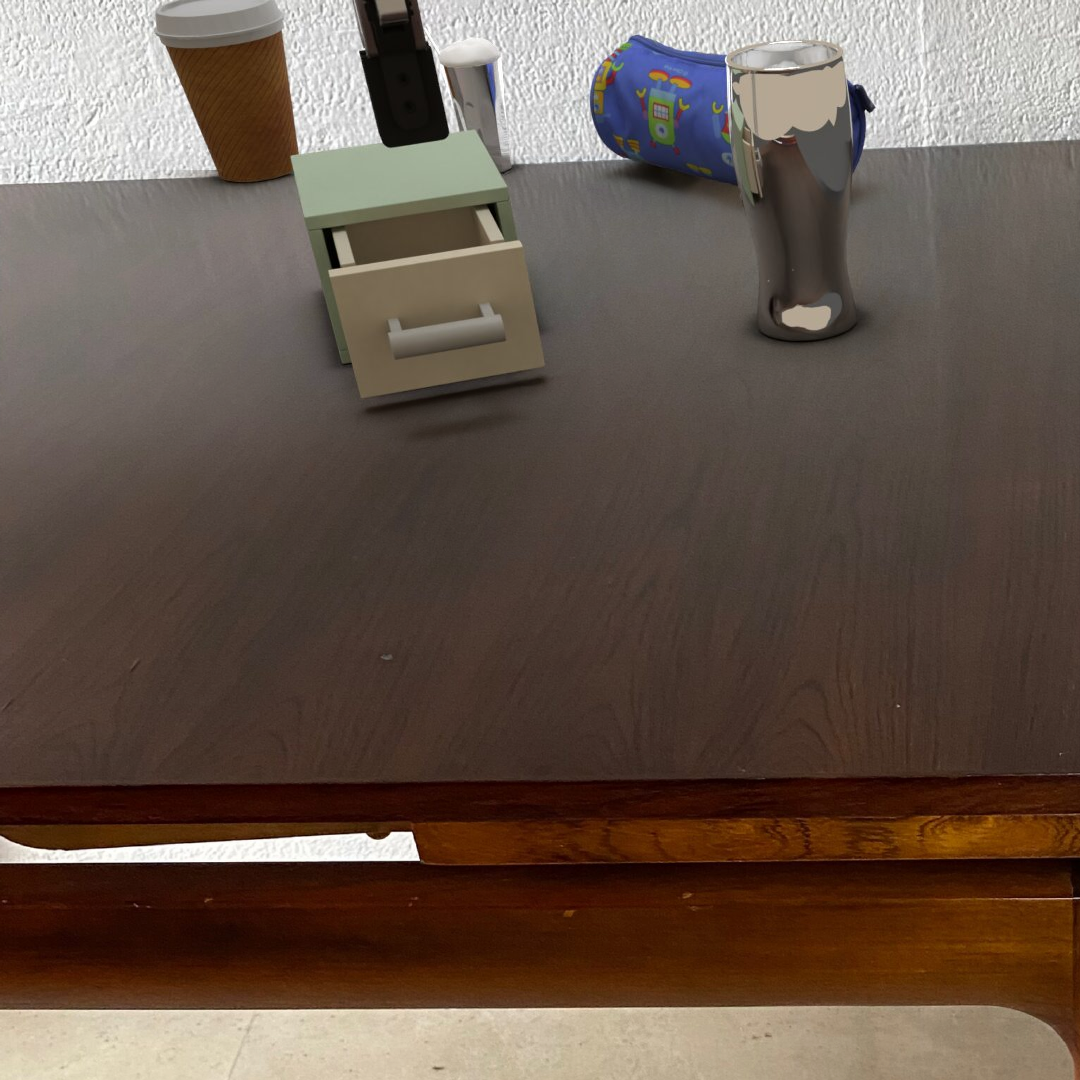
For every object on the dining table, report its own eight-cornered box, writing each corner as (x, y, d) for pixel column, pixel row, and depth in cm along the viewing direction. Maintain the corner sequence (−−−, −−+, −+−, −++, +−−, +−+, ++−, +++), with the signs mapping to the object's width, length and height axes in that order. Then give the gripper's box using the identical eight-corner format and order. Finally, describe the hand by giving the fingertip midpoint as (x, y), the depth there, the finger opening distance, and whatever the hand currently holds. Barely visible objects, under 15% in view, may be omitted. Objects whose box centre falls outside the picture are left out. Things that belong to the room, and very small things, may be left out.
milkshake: (462, 160, 136) (435, 21, 130) (528, 159, 135) (503, 19, 129) (443, 178, 132) (413, 35, 126) (510, 177, 132) (483, 34, 125)
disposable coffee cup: (302, 185, 133) (258, 14, 125) (181, 192, 133) (129, 21, 126) (335, 150, 140) (295, -14, 133) (220, 156, 141) (173, -7, 133)
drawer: (558, 393, 96) (535, 269, 91) (368, 427, 93) (335, 301, 89) (512, 297, 108) (490, 184, 104) (343, 325, 106) (313, 211, 102)
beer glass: (756, 304, 107) (728, 41, 98) (867, 300, 107) (850, 35, 98) (744, 346, 102) (714, 72, 93) (862, 342, 102) (843, 66, 92)
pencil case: (884, 191, 124) (875, 46, 118) (801, 225, 119) (788, 75, 113) (674, 146, 136) (657, 12, 130) (591, 175, 131) (569, 37, 125)
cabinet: (535, 332, 106) (507, 186, 100) (342, 364, 103) (303, 216, 98) (501, 264, 116) (475, 129, 111) (325, 292, 113) (290, 155, 108)
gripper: (211, -327, 76) (325, 114, 88) (220, -308, 65) (349, 195, 77) (382, -344, 78) (472, 92, 89) (420, -328, 67) (517, 168, 78)
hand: (415, 138), depth 83 cm, fingers closed
